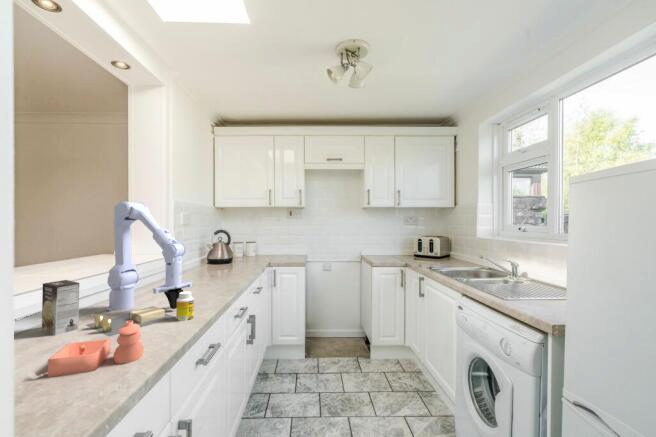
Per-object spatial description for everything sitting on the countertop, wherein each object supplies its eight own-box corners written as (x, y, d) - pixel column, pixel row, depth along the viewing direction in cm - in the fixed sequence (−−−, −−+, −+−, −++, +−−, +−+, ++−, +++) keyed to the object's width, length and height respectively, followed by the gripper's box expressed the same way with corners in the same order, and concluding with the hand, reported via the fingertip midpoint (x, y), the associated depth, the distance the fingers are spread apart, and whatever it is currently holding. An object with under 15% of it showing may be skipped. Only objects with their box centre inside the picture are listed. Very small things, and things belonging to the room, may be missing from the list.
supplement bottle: (190, 322, 102) (190, 294, 103) (173, 323, 102) (174, 294, 102) (195, 317, 108) (195, 290, 108) (179, 318, 107) (180, 290, 107)
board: (85, 327, 98) (85, 324, 98) (150, 310, 116) (150, 309, 116) (109, 338, 88) (109, 336, 88) (176, 319, 106) (176, 317, 106)
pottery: (47, 377, 67) (48, 335, 67) (69, 359, 76) (69, 321, 76) (137, 365, 73) (138, 326, 73) (147, 349, 82) (148, 314, 82)
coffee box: (40, 333, 92) (41, 283, 93) (65, 326, 98) (66, 279, 98) (55, 338, 89) (55, 286, 89) (80, 331, 94) (80, 282, 94)
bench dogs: (93, 328, 95) (93, 316, 95) (101, 325, 97) (101, 314, 97) (104, 333, 90) (104, 320, 90) (113, 331, 92) (113, 318, 92)
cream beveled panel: (130, 318, 104) (130, 311, 104) (153, 312, 111) (153, 306, 111) (141, 323, 100) (141, 315, 100) (164, 316, 106) (164, 309, 106)
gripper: (160, 277, 105) (160, 315, 105) (196, 272, 118) (196, 305, 117) (150, 275, 109) (150, 311, 109) (186, 270, 121) (186, 302, 121)
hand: (173, 308), depth 113 cm, fingers closed
